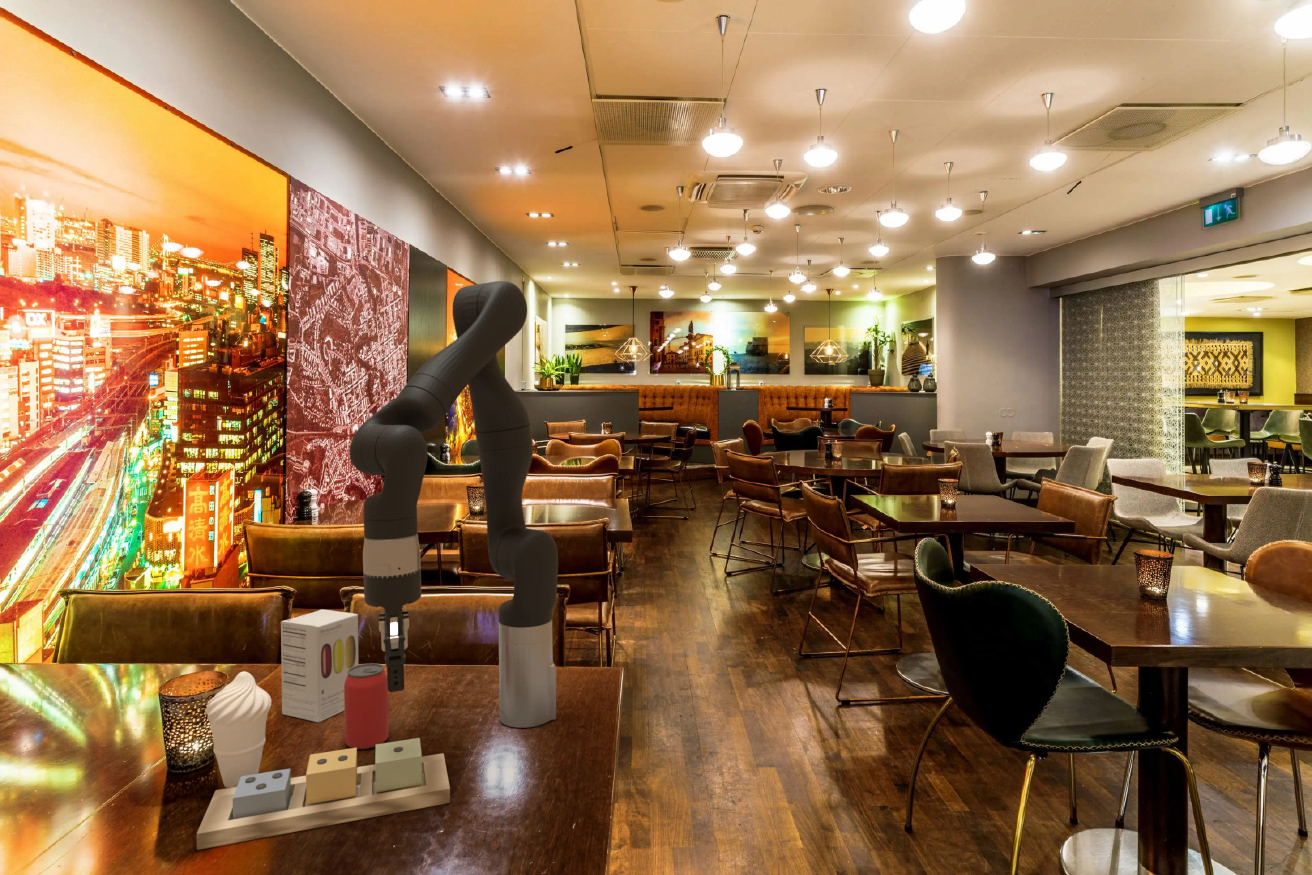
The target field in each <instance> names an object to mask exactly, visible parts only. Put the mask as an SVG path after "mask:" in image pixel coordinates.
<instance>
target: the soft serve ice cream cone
mask: <svg viewBox="0 0 1312 875" xmlns="http://www.w3.org/2000/svg"><path fill="white" fill-rule="evenodd" d="M271 706H272V698H271V696H270V694H269V693H268V692H267V691H266V690H265V689H263V688H261V687H260V686H259V685H257V683H256V680H255V677H254V676H253V675H252V674H251V673H249V672H248V671H241V672H239V673H238V674H237V675H236V676H235V677H234V679H233V680H232V681H231V682H230V683H229V684H226V685H225V686H224V687H223V688H222V689H221V690H219V691H218V692H217V693H216V694H214V697H212V698H210V700H208V702H207V705H206V708H204V709H205V710H204V713H205V714H206V715H207V718H206V719H207V721H209V722H210V723H209V724H210V727H209V729H210V731H211V732H212V743H213V749H212V750H213V751H212V752H213V753H214V755H215V757H216V761H217V764H218V768H219V772H220V776H221V779H222V783H223V785H224V787H225V788H226V789H227V788H233V787H237V785H238V783H239V780H240V778H241V776H246V775H252V774H259V773H260V767H261V761H262V755H263V751H264V746H265V744H266V740H267V739H266V730H267V727H266V726H267V720H268V714H269V711H270V710H271Z"/></svg>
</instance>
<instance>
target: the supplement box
mask: <svg viewBox="0 0 1312 875" xmlns="http://www.w3.org/2000/svg"><path fill="white" fill-rule="evenodd" d="M280 646H281V647H280V649H281V650H280V652H281V656H280V657H281V658H280V659H281V660H280V661H281V714H282V715H284V716H285V715H286V716H288V717H294V718H298V719H302V720H306V721H311V722H314V723H321V722H323V721H325V720H327V719H329V718H332V717H333V716H335V715H337V714H340V713H342V712H345V707H344V684H345V680H346V678H347V675H348V673H347V672H348V670H349V669H350V668H352V667H354V666H357V665H359V614H357V613H352V612H345V611H344V612H343V611H337V610H331V609H322V608H321V609H319V610H315V611H314V612H310V613H306V614H303V615H300V616H299V615H298V616H296V617H293V618H289V619H285V620H282V621H280Z"/></svg>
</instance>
